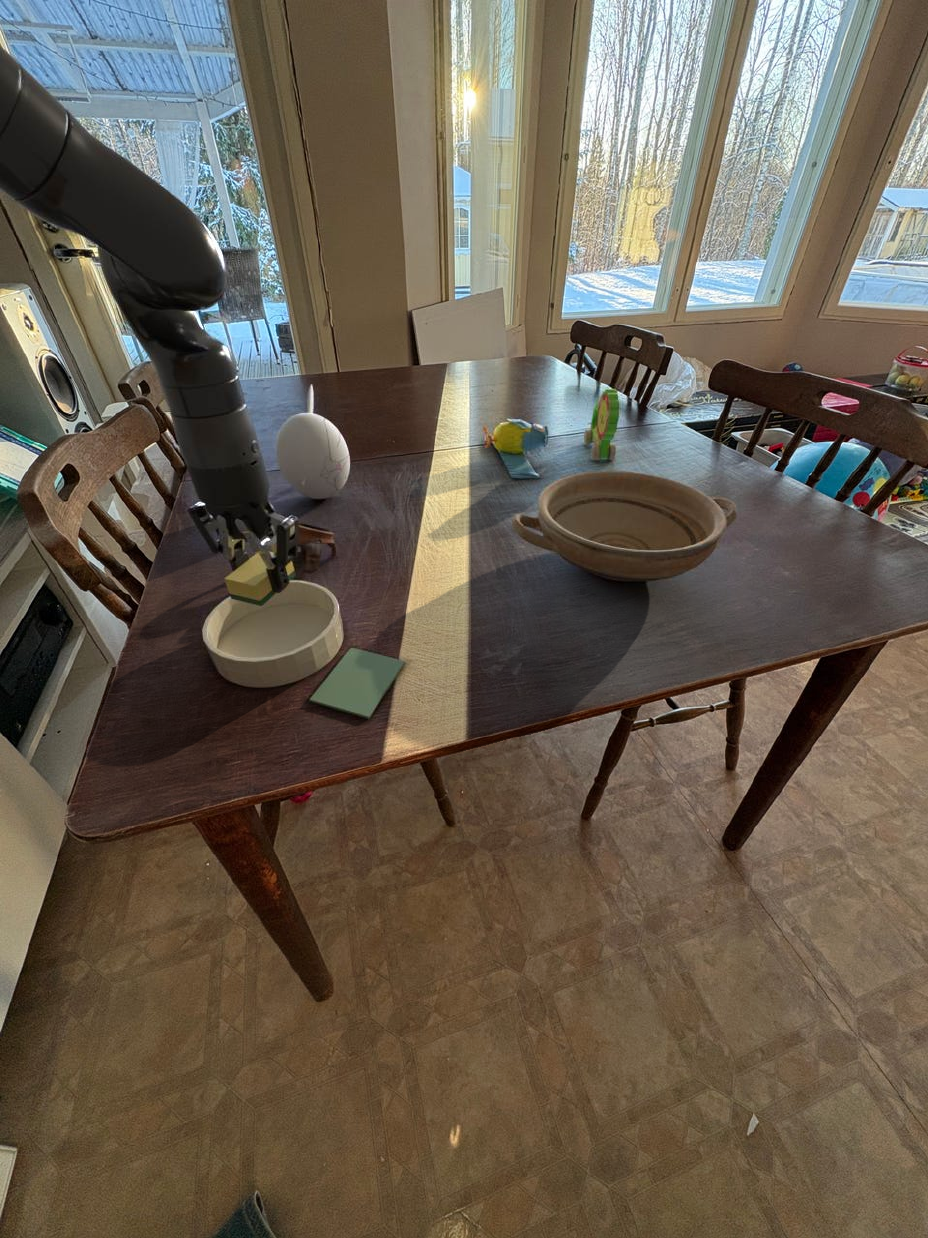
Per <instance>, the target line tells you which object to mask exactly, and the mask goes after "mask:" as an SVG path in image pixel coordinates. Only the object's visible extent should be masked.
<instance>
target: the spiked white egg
mask: <svg viewBox="0 0 928 1238" xmlns="http://www.w3.org/2000/svg"><path fill="white" fill-rule="evenodd" d="M313 388H314V387H313V384H312V383H311V384H310V386H309V389H308V391H307V398H306V406H307V407H306V412H300V413H297V414H296V413H295V414H293V415H292V416H290V417H289V418H288V419H286V420H285V421H284V423H283V424H282V425H281V427H280V428H279V430H278V433H277V436H276V440H275V457H276V462H277V465H278V468H279V470H280V472H281V475H282V476H283V478H284V479H285V481H286V482H287V483H288V485H289V486H291V487H292V489H294V490H295V491H296V492H297V493H299V494H300V495H302V496H304V497H305V498H306V497H307V498H309V499H313V500H323V499H324V500H325V499H329V498H331V497H333V496H335V495H336V494H338V493H339V492H340V491H341V490H342V489H343V488H344V486H345V484H346V483H347V481H348V478H349V475H350V469H351V458H350V452H349V448H348V446H347V443H346V440H345V438H344V437H343V435H342V433H341V432H340V430H339V429H338V428H337V426H335V425H334V423H332V422H331V421H330V420H329V419H327V418H326V417H323V416H322V415H320V414H317V413H314V400H315V399H314V389H313Z"/></svg>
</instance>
